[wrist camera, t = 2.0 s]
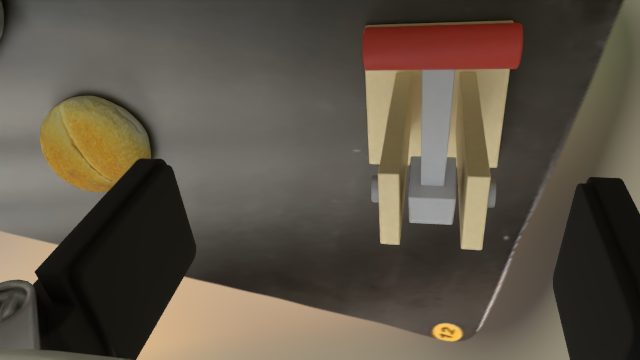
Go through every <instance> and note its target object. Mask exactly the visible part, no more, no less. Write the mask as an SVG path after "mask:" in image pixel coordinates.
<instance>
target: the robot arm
mask: <svg viewBox="0 0 640 360" xmlns="http://www.w3.org/2000/svg"><path fill="white" fill-rule="evenodd" d="M195 254H196V244H195V241H194V238H193V234H192V231H191V228H190V224H189V221H188V218H187V214H186V211H185V208H184V205H183V201H182V198H181V195H180V191H179V188H178V185H177V181H176V178H175V175H174V171H173V169H172V167H171V166H169V165H167V164H166V162H165V161H164V160H162V159H147V158H141V159H138V160H137V161H136V162H135V163H134V164H133V165H132V166H131V167H130V168H129V169H128V170H127V172H126V173H125V174H124V175H123V176H122V177H121V178H120V179H119V180H118V181H117V182H116V184H115V185H114V186H113V187H112V188H111V189H110V190H109V191H108V192H107V193H106V194H105V196H104V197H103V198H102V199H101V200H100V201H99V202H98V203H97V204H96V205H95V206H94V208H93V209H92V210H91V211H90V212H89V213H88V214H87V215H86V216H85V217H84V218H83V220H82V221H81V222H80V223H79V224H78V225H77V226H76V227H75V228H74V229H73V230H72V232H71V233H70V234H69V235H68V236H67V237H66V238H65V239H64V240H63V241H62V242H61V244H60V245H59V246H58V247H57V248H56V249H55V250H54V251H53V252H52V253H51V254H50V256H49V257H48V258H47V259H46V260H45V261H44V262H43V263H42V264H41V265H40V266H39V268H38V269H37V270H36V271H35V273H36V275H37V277H38V280H37V281H36V282H35V283H34V284H33V285H32V284H31V283H29V282H28V281H23V280H10V281H6V282H2V283H0V360H136V359H137V357H138V355H139V354H140V352H141V350H142V348H143V346H144V345H145V343H146V341H147V340H148V338H149V336H150V335H151V333H152V331H153V329H154V328H155V326H156V324H157V322H158V321H159V319H160V317H161V315H162V313H163V312H164V310H165V308H166V307H167V305H168V303H169V301H170V300H171V298H172V296H173V295H174V293H175V291H176V289H177V287H178V286H179V284H180V282H181V281H182V279H183V277H184V275H185V274H186V272H187V270H188V269H189V267H190V265H191V263H192V262H193V260H194V258H195ZM553 289H554V294H555V298H556V302H557V307H558V311H559V314H560V319H561V324H562V327H563V332H564V336H565V340H566V345H567V348H568V353H569V357H570V360H640V214H639V212H638V210H637V208H636V206H635V204H634V202H633V200H632V198H631V196H630V194H629V192H628V190H627V188H626V186H625V184H624V182H623V181H622V179H620V178H600V177H590V178H589V179H588V180H587V182H586V184H578V185H577V187H576V191H575V194H574V198H573V202H572V206H571V210H570V213H569V217H568V221H567V225H566V229H565V232H564V236H563V240H562V244H561V248H560V252H559V256H558V260H557V264H556V267H555V271H554V276H553Z"/></svg>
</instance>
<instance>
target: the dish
mask: <svg viewBox="0 0 640 360" xmlns="http://www.w3.org/2000/svg"><path fill="white" fill-rule="evenodd" d="M3 27H4V11H3V5H2V1H1V0H0V39H1V37H2V33H3Z"/></svg>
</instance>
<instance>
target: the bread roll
mask: <svg viewBox="0 0 640 360" xmlns="http://www.w3.org/2000/svg"><path fill="white" fill-rule="evenodd" d="M40 144H41V148H42V152H43V154H44V157H45V159H46V161H47V162H48V164H49V165H50V166H51V168H52V169H53V170H54V171H55V173H56V174H57V175H58V176H59V177H61V178H62V179H63V180H65V181H66V182H67V183H70V184H71V185H73V186H75V187H77V188H80V189H83V190H87V191H92V192H106V191H109V190H110V189H111V188H112V187H113V186H114V185H115V184H116V182H117V181H118V180H119V179H120V178H121V177H122V176H123V175H124V174H125V173H126V172H127V170H128V169H129V168H130V167H131V166H132V165H133V164H134V163H135V162H136V161H137V160H138V159H141V158H147V159H151V150H150V143H149V138H148V134H147V132H146V131H145V129H144V128H143V126H142V125H141V123H140V122H139V121H138V120H137V119H136V118H135V117H133V116H132V115H131V114H130V113H129V112H128V111H127V110H125V109H124V108H122V107H120V106H118V105H116V104H114V103H112V102H110V101H107V100H105V99H103V98H100V97H96V96H78V97H73V98H69V99H67V100H65V101H63V102H62V103H61V104H59V105H57V106H56V107H54V108H53V109H52V110H51V111H50V112H49V113H48V115H47V116H46V118H45V119H44V121H43V123H42V125H41V130H40Z"/></svg>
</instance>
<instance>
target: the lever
mask: <svg viewBox="0 0 640 360" xmlns="http://www.w3.org/2000/svg"><path fill="white" fill-rule="evenodd" d="M522 47H523V28H522V25H521V23H492V24H459V25H427V26H394V27H366V28H365V29H364V33H363V43H362V56H363V66H364V69H365V70H366V71H377V70H422V117H421V157H420V156H412V157H411V160H410V178H409V195H408V201H409V222H411V223H429V224H448V225H451V224H452V223H453V217H454V210H455V204H456V158H455V157H447V152H448V142H449V131H450V121H451V110H452V100H453V89H454V79H455V70H460V69H516V68H518V66H519V64H520V60H521V55H522Z"/></svg>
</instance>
